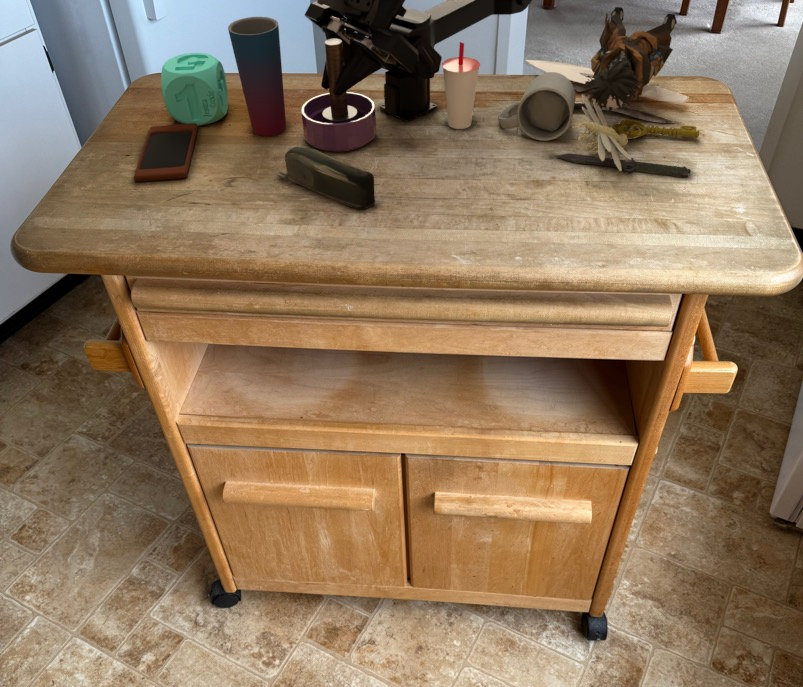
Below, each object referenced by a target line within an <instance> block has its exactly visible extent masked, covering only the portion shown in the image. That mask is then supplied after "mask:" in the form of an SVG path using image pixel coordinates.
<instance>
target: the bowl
mask: <svg viewBox="0 0 803 687" xmlns="http://www.w3.org/2000/svg"><path fill="white" fill-rule="evenodd" d="M347 103H348V105H349V106H352V107H354V108H356V110H357V114H358V120H355V121H351V122H346V123H335V124H333V123H323V117H322V112H323V111H324V110H325V109H326V108H328V107H331V104H330V94H329V92H327V93H323V94H319V95H316V96H313V97H311V98H310V99H308V100H307V101H306V102H304V103H303V105H302V106H301V111H300V112H301V121H302V129H303V136H304V139H305V141H306V142H307V143H308V144H309V145H311V146H312V147H315V148H317V149H319V150H321V151H326V152H333V153H334V152H335V153H341V152H349V151H354V150H357V149H359V148H360V149H361V148H362V147H364V146H366V145H367V144H369V143H370V142H372V140H374V139H375V137H376V134H377V118H376V117H377V116H376V105H375V102H374V101H373V100H372V99H371V98H370V97H369V96H367V95H365V94H362V93H358V92H352V91H347Z"/></svg>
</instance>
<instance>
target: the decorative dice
mask: <svg viewBox="0 0 803 687" xmlns="http://www.w3.org/2000/svg"><path fill="white" fill-rule="evenodd" d="M160 73H161V75H160V84H161V92H162V98H163V102H164V106H165V109H166V111H167V113H168V115H169V116H170V117H171V118H173V119H174V120H175V121H177V122H178V123H180V124H191V123H195V124H197V126H198V127H199V126H206V125H210V124H213V123H216V122H218V121H220V120H222V119H223V118H224V117H225V116H226V114H227V113H228V109H229V107H228V106H229V93H228V92H229V91H228V83H227V78H226V72H225V68H224V66H223V64H222V62H221V60H219V59H217V57H215V56H214V55H212V54H209V53H205V52H190V53H189V52H188V53H183V54H178V55H175V56H173V57H171V58H169V59H168V60H166V61H165V62H164V63H163V65H162V68H161V72H160Z"/></svg>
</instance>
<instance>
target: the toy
mask: <svg viewBox="0 0 803 687" xmlns="http://www.w3.org/2000/svg"><path fill="white" fill-rule="evenodd" d="M581 98H582V102H583V103H585V105H586V107H587V109H588V110H586V109H585V108H584V107H582V110H581V111H583V113H584V114H585V116H586V117H587V118H588V120H589V121H588V122H580V123H579V124H577V125H576V126H575V125H572V129H577V130H578V129H579V128H580V127H582V126H584V127H585V129H584V131H583V133H582V134H578V137H577V140H578V141H580V140H581V138H582V141H585V140H586V138H587V137H590V136H591V135H593V134H594V135H593V137H592V142H588V143H586V145H585V146H584V148H585V149H586V150H587V149H588V147H589V148H592V147H593V146H594V144H596V143H597V145H596V146H595V147H593V148H592V149H590V150H589V151H588V153H589V154H592V152H593V151H594V150H595V149H597V151H594V152H593V155H596V154H598V157H599V158H600V160H601V161H604V160H605V158H606V150H607V152H608V153H610V154H611V157H612V159H613V160H614V163H615V165H616V166H617V167H616V168H617V169H618V171H619V172H622V171H623V170H622V168H621V163H620V160H619V159H620V157H619V155H618V152H620V153H621V154H622V155H623V156H624V157H625V158H626V159H628V160H629V161H630V160H632V159H631V158H632V157H631V155H630V154H628V152H627V151H626V150H625V148H626V145H627V144H628V142H629V140H630V139H633V138H630V139H629V138H627V135H625V134H620V135H618V132H617V131H615V130H614V129H613V128H612V126H609V125H608V123H607V120H606V118H605V115H604V113H603V110H601V108H600V106H599V105H598V106H597V104H598V103H596V99H593V102H592V104H594V107H595V111H594V110H593V108H592V107H591V105H590V104H591V102H589V99H588V98H587V96H585V95H584V94H583V93H582V94H581ZM595 103H596V106H597V107H596V106H595ZM599 108H600V109H599ZM635 125H636V124H635ZM635 125H634V126H635ZM634 126H633V127H634ZM633 127H631V128H633ZM631 128H630V127H629V129H631ZM637 128H638V127H637ZM587 130H588V132H587ZM639 130H640V129H639ZM629 131H630V130H628V132H629ZM586 132H587V133H586ZM627 134H628V133H627ZM639 135H640V134H639ZM596 137H597V139H596V140H595V138H596ZM637 138H638V137H635V138H634V139H637ZM628 139H629V140H628ZM617 150H618V151H617Z"/></svg>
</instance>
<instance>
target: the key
mask: <svg viewBox="0 0 803 687" xmlns="http://www.w3.org/2000/svg"><path fill="white" fill-rule="evenodd" d="M635 124H636V125H635ZM634 125H635V126H634ZM633 126H634V127H633ZM628 127H629V128H628ZM631 127H633V128H631ZM637 127H638V128H637ZM611 128H613V129H614V130H615V131H616V132H617V134H618V135H620V134H625V135H627V138H629V140H630V138H632V139H636V138H635V137H637V138H640V137H643V136H645V135H646V136H648V135H650V136H657V135H661V137H665V136H668V137H669V138H670V137H672V138H679V137H688V138H695V139H697V140H698V138H700V130H699V129H697V126H694V125H680V127H678V128H676V127H674V128H673V127H671V126H670V127H669V128H667V126H662V127H659V126H657V125H656V126H654V125H647V126H646V125H645V124H644V123H642V122H641V121H639V120H636V119H632V118H623V119H621V120H620V121H619V123H614V124H612V126H611ZM630 128H631V129H630ZM639 129H640V130H639ZM627 130H628V131H629V132H628V131H627ZM627 133H628V134H627ZM639 134H640V135H639Z"/></svg>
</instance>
